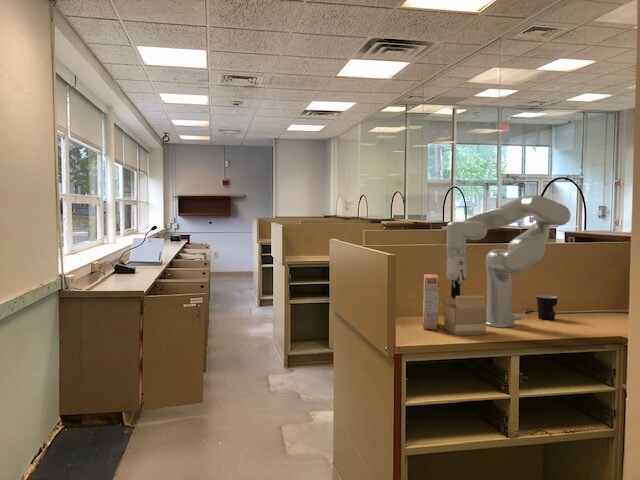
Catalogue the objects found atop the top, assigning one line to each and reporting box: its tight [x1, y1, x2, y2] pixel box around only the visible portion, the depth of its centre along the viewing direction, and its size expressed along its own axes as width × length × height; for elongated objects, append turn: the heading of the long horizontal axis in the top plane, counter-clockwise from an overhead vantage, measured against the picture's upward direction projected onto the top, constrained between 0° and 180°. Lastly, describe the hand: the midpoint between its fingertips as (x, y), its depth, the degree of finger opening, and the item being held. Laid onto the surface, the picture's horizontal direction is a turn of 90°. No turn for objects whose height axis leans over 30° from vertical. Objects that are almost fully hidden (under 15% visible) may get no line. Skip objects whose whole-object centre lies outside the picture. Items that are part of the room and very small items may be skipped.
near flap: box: [456, 294, 487, 309], centre depth 186 cm, size 11×5×1 cm
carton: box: [443, 304, 487, 337], centre depth 191 cm, size 13×11×10 cm
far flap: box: [441, 296, 456, 305], centre depth 199 cm, size 11×5×1 cm, turn 97°
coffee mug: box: [536, 294, 559, 322], centre depth 216 cm, size 12×9×10 cm
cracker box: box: [422, 273, 440, 331], centre depth 201 cm, size 14×6×21 cm, turn 168°
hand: (455, 296), depth 200 cm, fingers closed
